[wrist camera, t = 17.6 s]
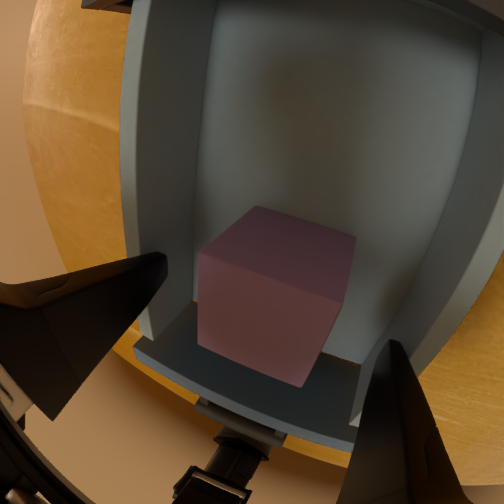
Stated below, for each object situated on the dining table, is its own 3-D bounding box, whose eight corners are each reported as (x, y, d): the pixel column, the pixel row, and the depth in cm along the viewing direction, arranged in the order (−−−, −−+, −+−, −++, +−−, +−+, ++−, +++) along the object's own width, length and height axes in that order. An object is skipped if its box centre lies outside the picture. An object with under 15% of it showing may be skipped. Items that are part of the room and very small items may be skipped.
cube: (326, 316, 12) (301, 388, 9) (243, 285, 13) (196, 344, 10) (356, 236, 10) (343, 305, 6) (255, 204, 11) (197, 252, 7)
